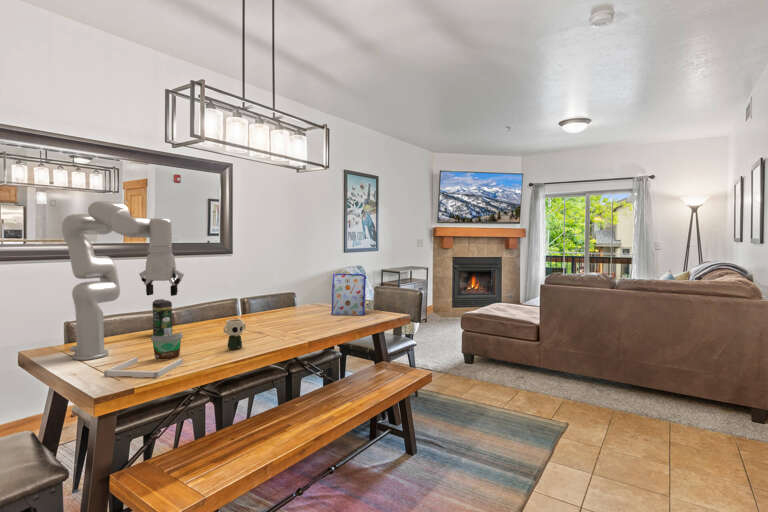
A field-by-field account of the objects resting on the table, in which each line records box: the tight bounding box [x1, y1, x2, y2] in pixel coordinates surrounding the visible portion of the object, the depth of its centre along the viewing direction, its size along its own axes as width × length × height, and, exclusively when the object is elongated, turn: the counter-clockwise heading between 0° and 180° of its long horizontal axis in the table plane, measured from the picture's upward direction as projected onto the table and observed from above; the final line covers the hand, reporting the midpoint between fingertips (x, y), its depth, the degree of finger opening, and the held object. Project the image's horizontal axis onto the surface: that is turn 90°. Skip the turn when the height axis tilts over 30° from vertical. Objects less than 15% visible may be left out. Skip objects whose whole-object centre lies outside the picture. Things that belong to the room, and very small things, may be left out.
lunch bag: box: [330, 272, 367, 316], centre depth 280 cm, size 23×17×27 cm
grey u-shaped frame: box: [104, 356, 184, 378], centre depth 161 cm, size 20×17×2 cm
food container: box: [150, 332, 184, 360], centre depth 176 cm, size 12×6×10 cm, turn 131°
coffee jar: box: [151, 298, 173, 336], centre depth 215 cm, size 10×8×19 cm
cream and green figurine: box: [222, 318, 246, 350], centre depth 192 cm, size 11×7×13 cm, turn 141°
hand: (161, 295), depth 162 cm, fingers open, 9 cm apart
